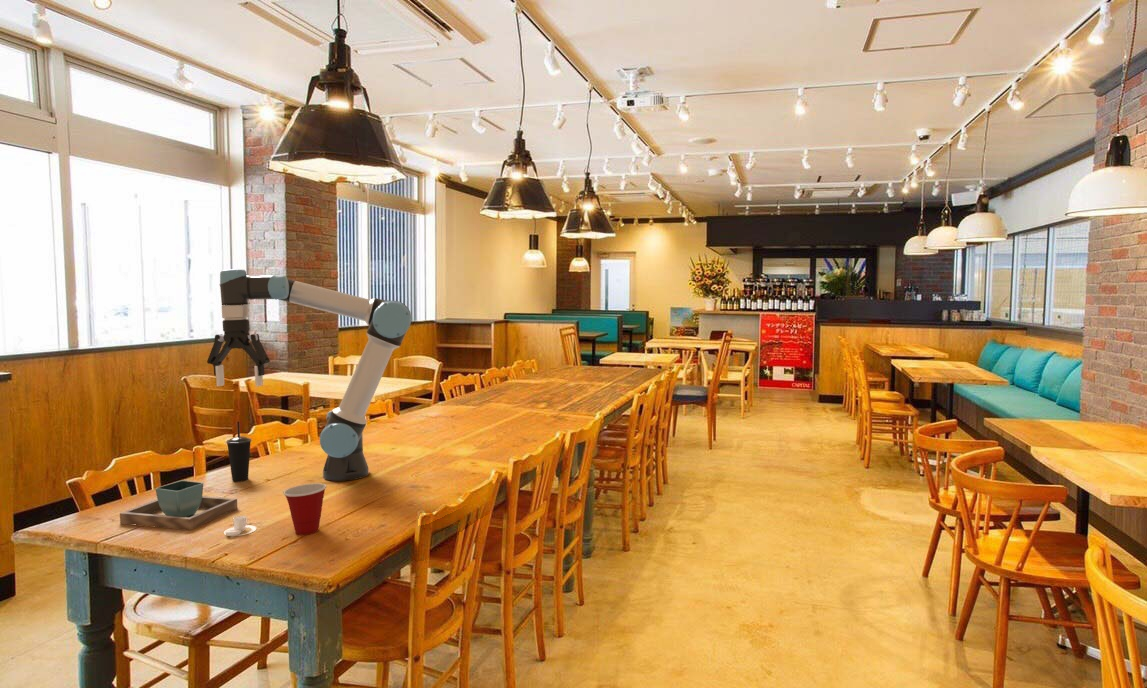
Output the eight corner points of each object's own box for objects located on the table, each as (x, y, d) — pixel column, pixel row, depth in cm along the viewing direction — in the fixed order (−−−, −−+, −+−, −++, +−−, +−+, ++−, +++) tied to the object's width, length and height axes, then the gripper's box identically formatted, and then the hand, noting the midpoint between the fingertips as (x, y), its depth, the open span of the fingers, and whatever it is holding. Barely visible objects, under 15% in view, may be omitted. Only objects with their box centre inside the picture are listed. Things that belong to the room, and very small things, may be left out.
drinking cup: (242, 483, 225) (240, 424, 224) (222, 482, 227) (220, 423, 225) (257, 477, 233) (255, 420, 231) (238, 476, 234) (236, 419, 233)
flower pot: (155, 519, 190) (154, 487, 190) (183, 509, 199) (182, 479, 198) (178, 522, 187) (177, 491, 187) (205, 513, 195) (204, 482, 195)
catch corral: (237, 508, 199) (237, 498, 199) (189, 530, 182) (189, 519, 181) (172, 503, 204) (172, 493, 204) (120, 523, 186) (119, 513, 186)
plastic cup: (296, 523, 187) (295, 481, 186) (334, 525, 186) (333, 482, 185) (276, 537, 176) (274, 492, 175) (315, 539, 175) (314, 494, 174)
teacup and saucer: (231, 540, 175) (231, 525, 175) (214, 534, 179) (213, 519, 179) (262, 530, 182) (262, 516, 182) (245, 525, 187) (245, 510, 186)
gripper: (279, 317, 213) (282, 384, 215) (208, 318, 218) (212, 384, 219) (264, 319, 206) (268, 387, 208) (191, 320, 210) (196, 387, 212)
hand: (239, 386), depth 214 cm, fingers open, 13 cm apart
